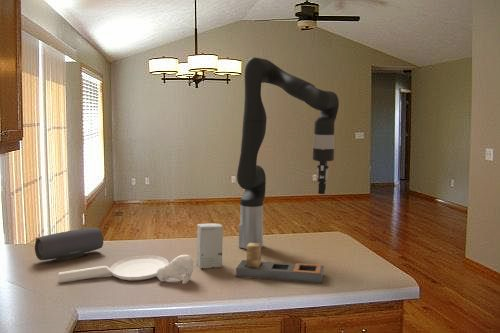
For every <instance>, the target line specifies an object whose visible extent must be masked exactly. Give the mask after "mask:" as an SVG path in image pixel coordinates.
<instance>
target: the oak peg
mask: <svg viewBox="0 0 500 333" xmlns="http://www.w3.org/2000/svg"><path fill="white" fill-rule="evenodd" d="M246 260H247V267H255V268H260V267H261V261H262V248H261V243H249V244H248V245H247V249H246Z"/></svg>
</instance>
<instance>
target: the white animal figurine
mask: <svg viewBox="0 0 500 333" xmlns="http://www.w3.org/2000/svg"><path fill="white" fill-rule="evenodd" d="M193 267H194V260H193V257H192V256H191V255H189V254H181V255H178V256H177V257H174V259H172V260H171V261H170V262H168V265H166V266H165V267H161V268H159V269H158V270H157V273H156V274H157V276H156V277H157V278H158V280H160V282H161V283H163V282H166V280H167V278H173V279H177V280H180V281H181V280H182V281H181V283H182V285H185V284H187V283H188V282H189V281H190V279H191V276H192V275H193V272H194V268H193ZM184 274H185V275H184ZM183 275H184V276H183Z"/></svg>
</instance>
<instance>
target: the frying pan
mask: <svg viewBox="0 0 500 333" xmlns="http://www.w3.org/2000/svg"><path fill="white" fill-rule="evenodd" d="M168 264H169V260H168V259H166V258H165V257H162V256H159V255H152V254H141V255H134V256H129V257H125V258H122V259H120V260H118V261H116V262H114V263H113V264H112V265H111V266H110V267H109V266H107V265H101V266H93V267H88V268H81V269H73V270H67V271H60V272H58V283H59V284H62V283H67V282H68V283H69V282H74V281H83V280H87V279H94V278H95V279H96V278H100V277H107V276H113V277H116V278H117V279H119V280H122V281H123V280H124V281H129V282H130V281H144V280H150V279H152V278H155V277H157V274H156V273H157V270H158V269H159V268H161V267H165V266H166V265H168Z"/></svg>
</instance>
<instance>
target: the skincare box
mask: <svg viewBox="0 0 500 333" xmlns="http://www.w3.org/2000/svg"><path fill="white" fill-rule="evenodd" d="M223 233H224V227H223V225H222V224H220V223H212V222H211V223H208V222H207V223H197V233H196V235H197V240H196V242H197V244H196V245H197V246H196V247H197V248H196V264H197V266H198V268H199V269H201V270H202V268H203V269H212V267H214V268H222V267H223V241H224V240H223V235H224V234H223Z"/></svg>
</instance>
